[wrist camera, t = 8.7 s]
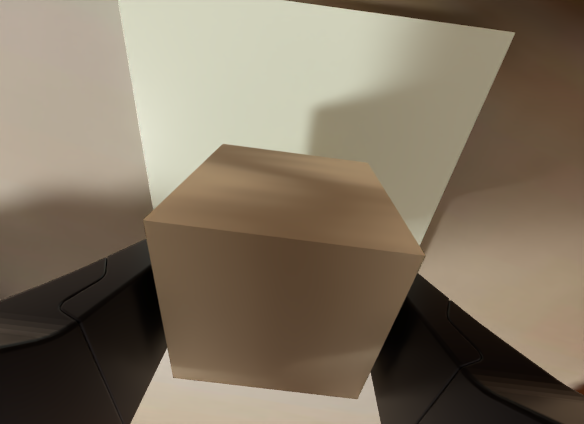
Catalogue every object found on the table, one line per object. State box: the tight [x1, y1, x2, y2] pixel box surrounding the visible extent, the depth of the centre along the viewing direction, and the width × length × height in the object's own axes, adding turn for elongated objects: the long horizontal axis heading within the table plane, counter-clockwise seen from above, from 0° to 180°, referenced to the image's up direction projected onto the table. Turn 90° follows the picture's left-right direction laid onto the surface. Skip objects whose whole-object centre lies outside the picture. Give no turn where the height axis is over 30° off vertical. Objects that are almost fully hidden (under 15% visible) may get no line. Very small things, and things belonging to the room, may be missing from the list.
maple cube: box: [143, 144, 425, 399], centre depth 8 cm, size 5×5×5 cm
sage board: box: [118, 0, 515, 246], centre depth 13 cm, size 14×14×1 cm
